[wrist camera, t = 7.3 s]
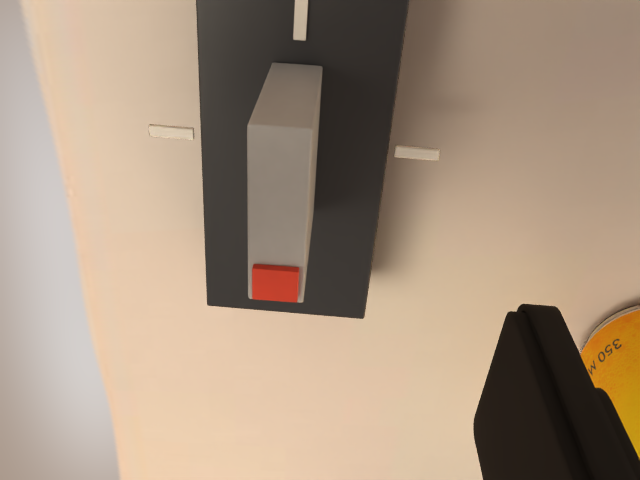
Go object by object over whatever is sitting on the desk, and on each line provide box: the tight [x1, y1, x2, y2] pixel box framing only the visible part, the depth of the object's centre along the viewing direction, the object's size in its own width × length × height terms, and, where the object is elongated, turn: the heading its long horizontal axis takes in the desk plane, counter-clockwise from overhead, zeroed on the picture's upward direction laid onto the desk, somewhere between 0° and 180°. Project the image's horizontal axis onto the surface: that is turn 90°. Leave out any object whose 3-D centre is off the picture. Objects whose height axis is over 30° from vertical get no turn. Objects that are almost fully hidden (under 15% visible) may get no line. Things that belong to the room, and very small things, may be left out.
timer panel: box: [149, 0, 440, 319], centre depth 21 cm, size 12×9×3 cm
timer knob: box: [247, 63, 322, 303], centre depth 17 cm, size 5×2×5 cm, turn 177°
